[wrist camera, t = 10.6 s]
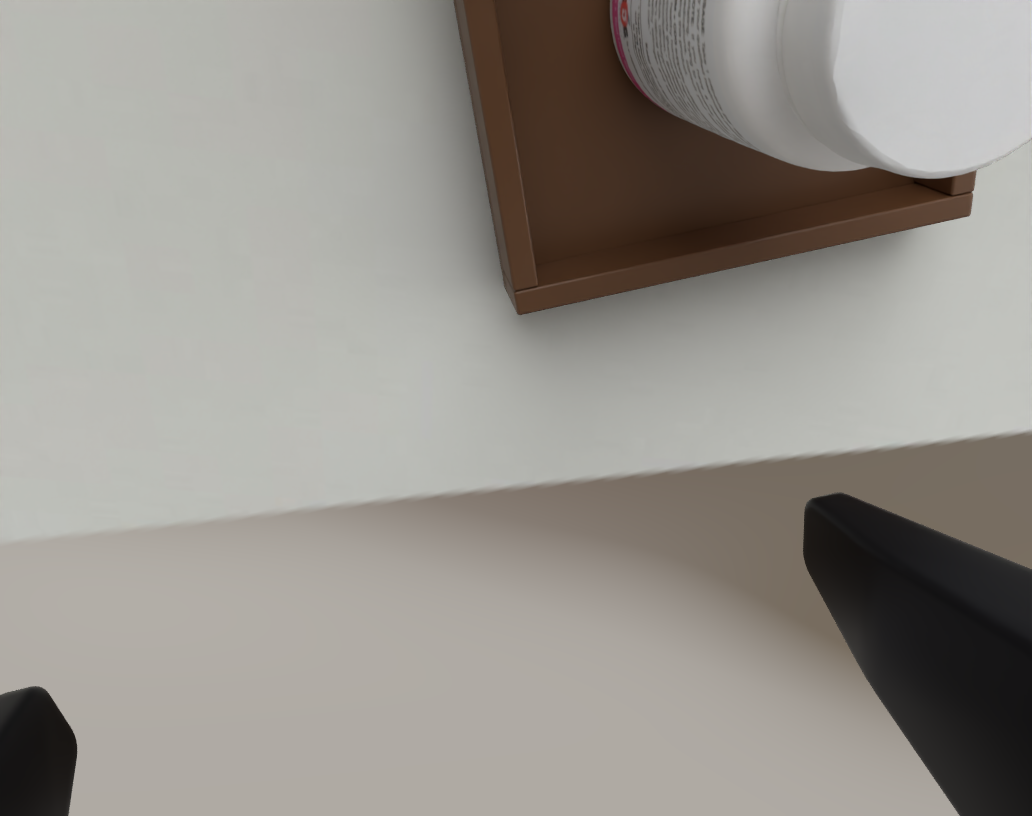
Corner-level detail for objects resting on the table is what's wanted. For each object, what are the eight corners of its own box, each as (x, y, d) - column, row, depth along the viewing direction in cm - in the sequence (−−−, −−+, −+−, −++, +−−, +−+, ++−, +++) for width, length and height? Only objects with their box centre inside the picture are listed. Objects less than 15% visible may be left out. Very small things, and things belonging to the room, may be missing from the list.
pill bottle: (758, 142, 19) (1015, 250, 11) (574, 81, 17) (731, 157, 10) (855, -83, 17) (1241, -128, 9) (655, -173, 15) (927, -311, 8)
